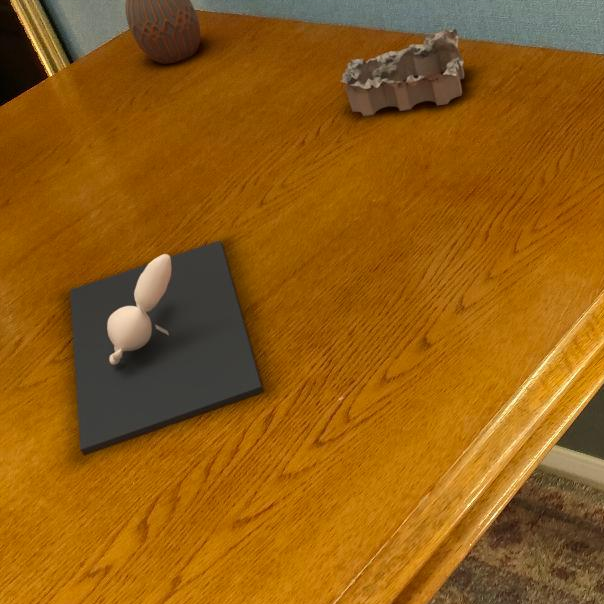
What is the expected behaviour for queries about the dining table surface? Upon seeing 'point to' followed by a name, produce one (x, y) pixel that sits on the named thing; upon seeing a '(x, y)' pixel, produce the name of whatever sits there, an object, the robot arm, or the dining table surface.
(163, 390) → the mat
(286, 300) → the dining table surface
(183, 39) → the vase
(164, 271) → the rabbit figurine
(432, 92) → the egg carton
